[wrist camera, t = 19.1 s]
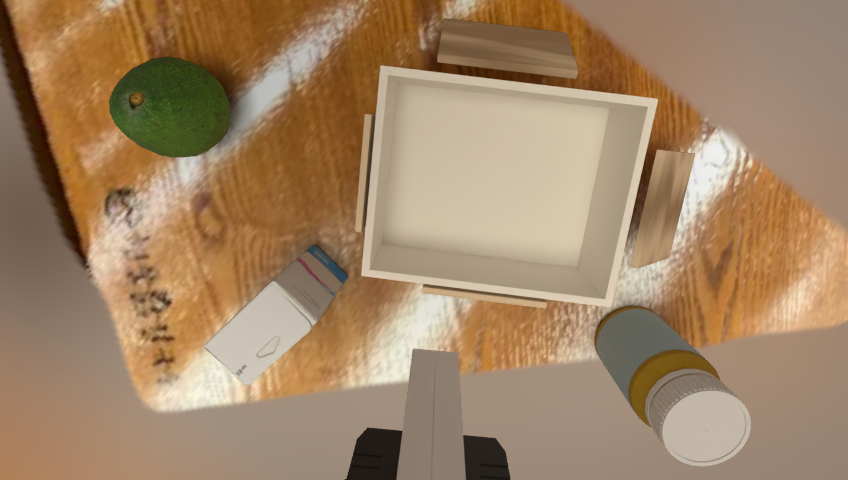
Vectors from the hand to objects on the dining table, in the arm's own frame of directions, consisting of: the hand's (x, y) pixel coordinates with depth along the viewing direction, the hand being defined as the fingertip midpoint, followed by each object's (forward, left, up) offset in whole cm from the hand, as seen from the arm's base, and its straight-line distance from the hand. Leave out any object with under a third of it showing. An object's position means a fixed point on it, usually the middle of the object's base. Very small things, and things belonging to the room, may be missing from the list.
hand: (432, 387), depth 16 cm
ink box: (+9, -13, -32) cm, 35 cm away
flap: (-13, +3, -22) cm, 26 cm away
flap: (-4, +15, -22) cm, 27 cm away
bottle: (+10, +20, -32) cm, 39 cm away
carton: (-4, +4, -31) cm, 32 cm away
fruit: (-7, -23, -32) cm, 39 cm away
